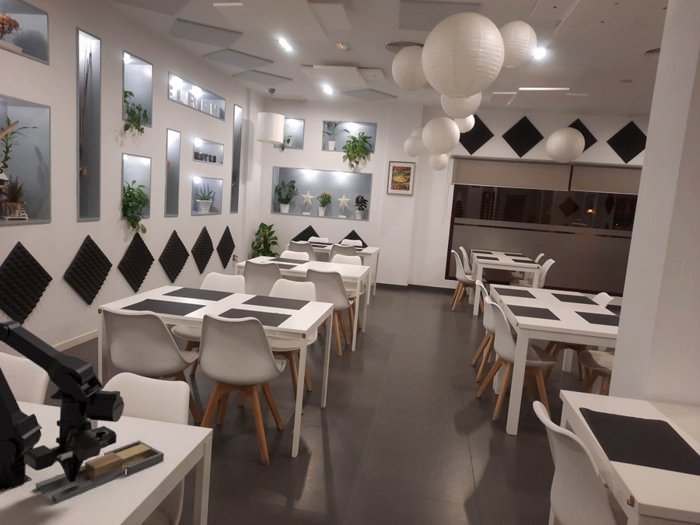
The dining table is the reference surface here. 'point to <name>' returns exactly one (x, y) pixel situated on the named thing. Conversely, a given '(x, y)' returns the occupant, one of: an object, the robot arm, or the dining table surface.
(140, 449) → the tan wooden block
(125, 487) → the dining table surface
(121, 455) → the olive wooden block
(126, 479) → the dining table surface
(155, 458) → the tray
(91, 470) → the tan wooden brick
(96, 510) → the dining table surface
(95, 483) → the rail bed
